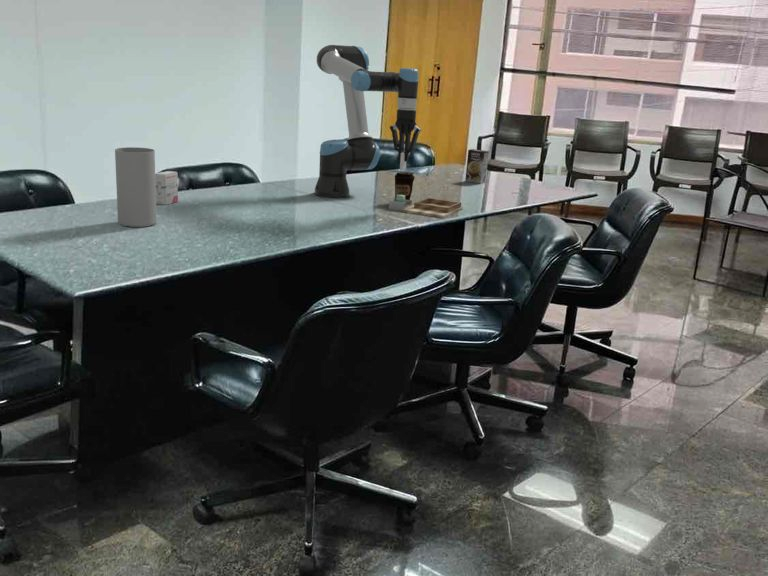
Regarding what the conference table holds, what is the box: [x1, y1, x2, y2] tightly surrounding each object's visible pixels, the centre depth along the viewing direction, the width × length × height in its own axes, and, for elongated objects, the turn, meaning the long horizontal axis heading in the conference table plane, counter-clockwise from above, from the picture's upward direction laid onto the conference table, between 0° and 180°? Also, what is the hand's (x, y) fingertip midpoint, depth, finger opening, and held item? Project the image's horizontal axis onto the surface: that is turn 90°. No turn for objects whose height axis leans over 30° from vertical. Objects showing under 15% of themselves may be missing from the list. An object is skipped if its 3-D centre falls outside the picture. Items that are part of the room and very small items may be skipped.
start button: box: [396, 195, 405, 202], centre depth 313 cm, size 4×4×4 cm
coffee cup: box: [394, 171, 416, 200], centre depth 324 cm, size 9×8×13 cm
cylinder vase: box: [114, 146, 158, 228], centre depth 258 cm, size 12×12×25 cm
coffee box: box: [464, 148, 490, 185], centre depth 390 cm, size 9×6×16 cm
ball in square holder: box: [388, 198, 413, 212], centre depth 313 cm, size 7×7×4 cm
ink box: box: [155, 170, 179, 206], centre depth 296 cm, size 9×5×12 cm, turn 160°
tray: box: [401, 197, 463, 219], centre depth 314 cm, size 18×22×3 cm
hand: (402, 169), depth 309 cm, fingers closed
